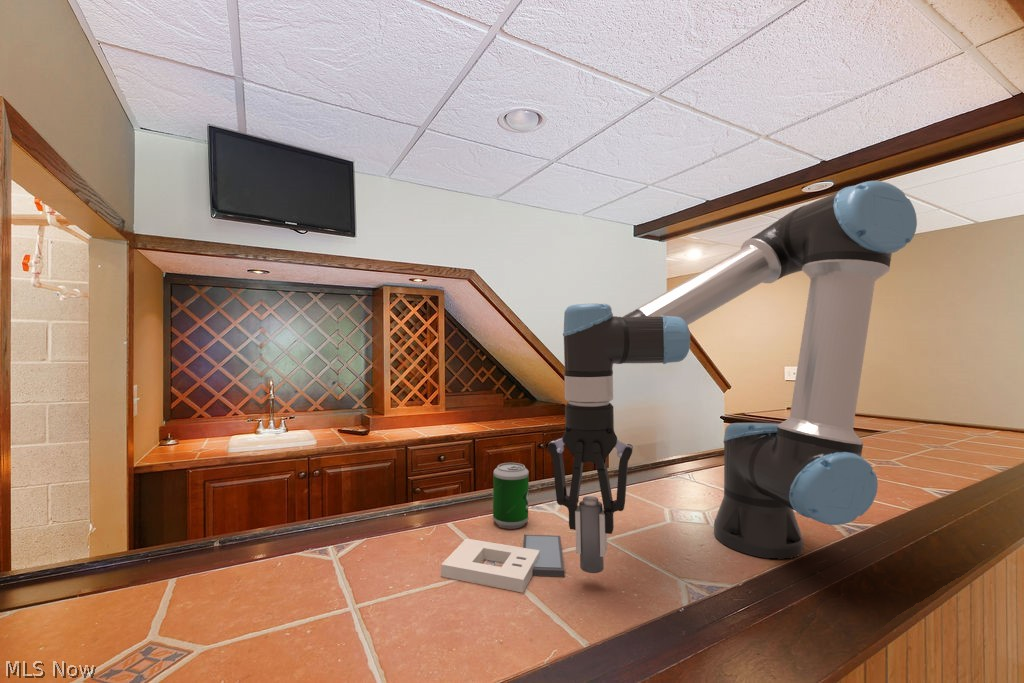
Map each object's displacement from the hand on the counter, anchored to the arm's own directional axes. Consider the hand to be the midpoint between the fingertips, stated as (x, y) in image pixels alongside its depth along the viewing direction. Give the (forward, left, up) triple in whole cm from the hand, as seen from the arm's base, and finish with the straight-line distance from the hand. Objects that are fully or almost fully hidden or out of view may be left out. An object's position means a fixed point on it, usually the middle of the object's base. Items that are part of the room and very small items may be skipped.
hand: (591, 550), depth 69 cm
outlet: (+17, 0, -6) cm, 18 cm away
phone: (+10, -7, -6) cm, 13 cm away
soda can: (+20, -19, -6) cm, 28 cm away
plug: (0, 0, -3) cm, 3 cm away
